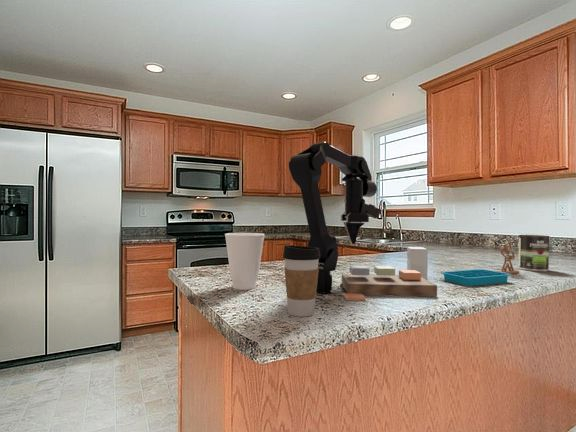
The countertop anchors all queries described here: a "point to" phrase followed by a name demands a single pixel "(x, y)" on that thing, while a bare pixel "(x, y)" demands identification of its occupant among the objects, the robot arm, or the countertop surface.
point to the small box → (417, 260)
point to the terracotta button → (409, 274)
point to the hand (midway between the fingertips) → (353, 243)
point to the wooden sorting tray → (387, 285)
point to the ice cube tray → (475, 277)
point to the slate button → (359, 270)
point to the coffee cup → (301, 279)
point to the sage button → (384, 270)
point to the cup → (244, 258)
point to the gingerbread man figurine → (504, 249)
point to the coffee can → (534, 252)
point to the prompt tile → (354, 297)
